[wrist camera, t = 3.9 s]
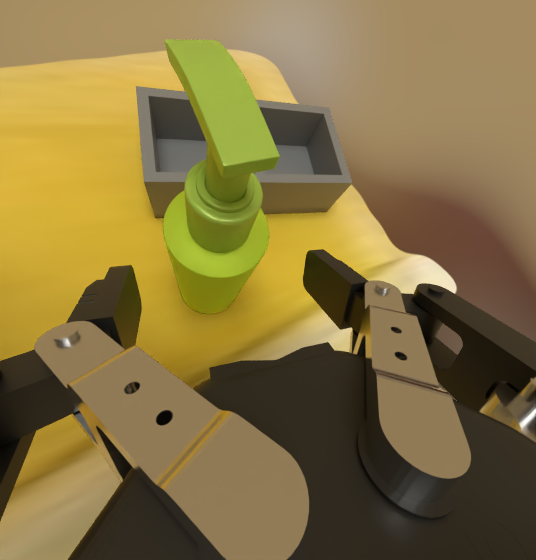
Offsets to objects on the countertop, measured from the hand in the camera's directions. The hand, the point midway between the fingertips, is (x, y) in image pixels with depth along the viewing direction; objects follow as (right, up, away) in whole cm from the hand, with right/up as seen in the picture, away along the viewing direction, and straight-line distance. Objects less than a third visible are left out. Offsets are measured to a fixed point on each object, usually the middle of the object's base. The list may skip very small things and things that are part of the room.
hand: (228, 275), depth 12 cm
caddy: (-1, +13, +19) cm, 23 cm away
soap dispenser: (-5, -1, +15) cm, 15 cm away
